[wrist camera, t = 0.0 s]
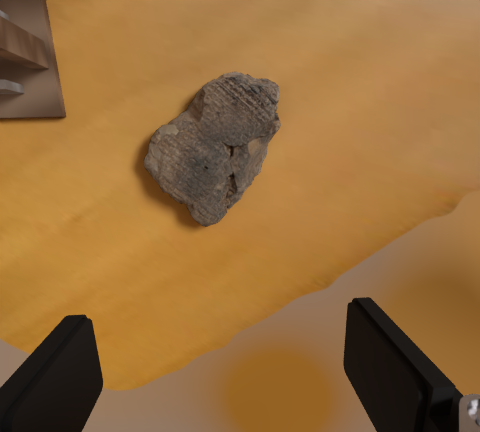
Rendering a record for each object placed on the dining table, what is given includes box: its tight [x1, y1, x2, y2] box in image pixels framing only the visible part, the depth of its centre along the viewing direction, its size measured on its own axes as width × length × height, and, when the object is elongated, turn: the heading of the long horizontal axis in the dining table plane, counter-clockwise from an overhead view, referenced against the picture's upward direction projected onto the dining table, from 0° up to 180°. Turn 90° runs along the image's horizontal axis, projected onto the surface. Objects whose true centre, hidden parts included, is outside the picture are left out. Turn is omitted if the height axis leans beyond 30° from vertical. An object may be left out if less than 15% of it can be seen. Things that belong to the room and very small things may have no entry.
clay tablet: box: [144, 72, 281, 227], centre depth 37 cm, size 14×5×20 cm
